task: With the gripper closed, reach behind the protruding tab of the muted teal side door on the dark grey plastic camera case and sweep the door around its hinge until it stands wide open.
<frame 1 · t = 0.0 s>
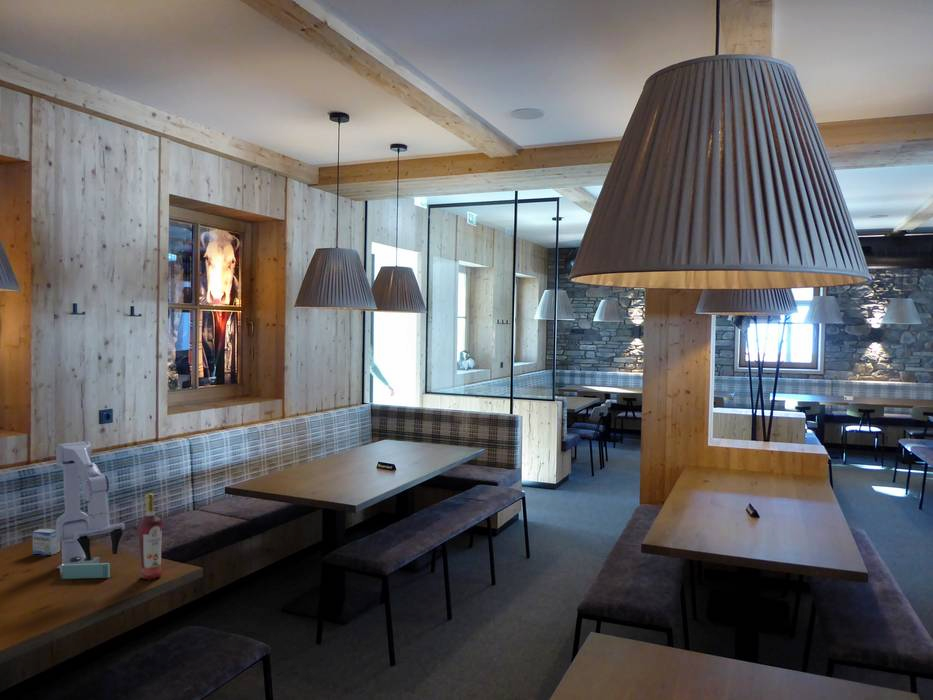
hand: (101, 556, 216), 11 cm above the table, tool pointing down, fingers open, 7 cm apart
camera case: (81, 574, 230), on the table
side door: (84, 571, 226), point 3 cm above the table, hinge at 0.0°
medicine box: (46, 554, 251), on the table
liquor: (151, 578, 227), on the table
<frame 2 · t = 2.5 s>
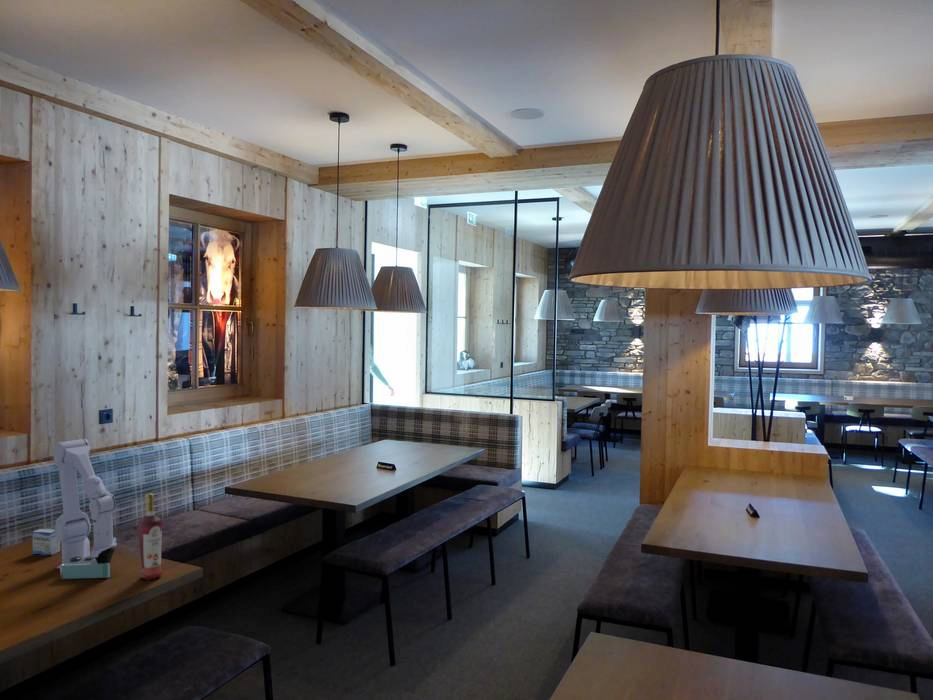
hand: (104, 571, 229), 1 cm above the table, tool pointing down, fingers closed
side door: (84, 571, 226), point 3 cm above the table, hinge at 0.0°, touching gripper
everything else where it was.
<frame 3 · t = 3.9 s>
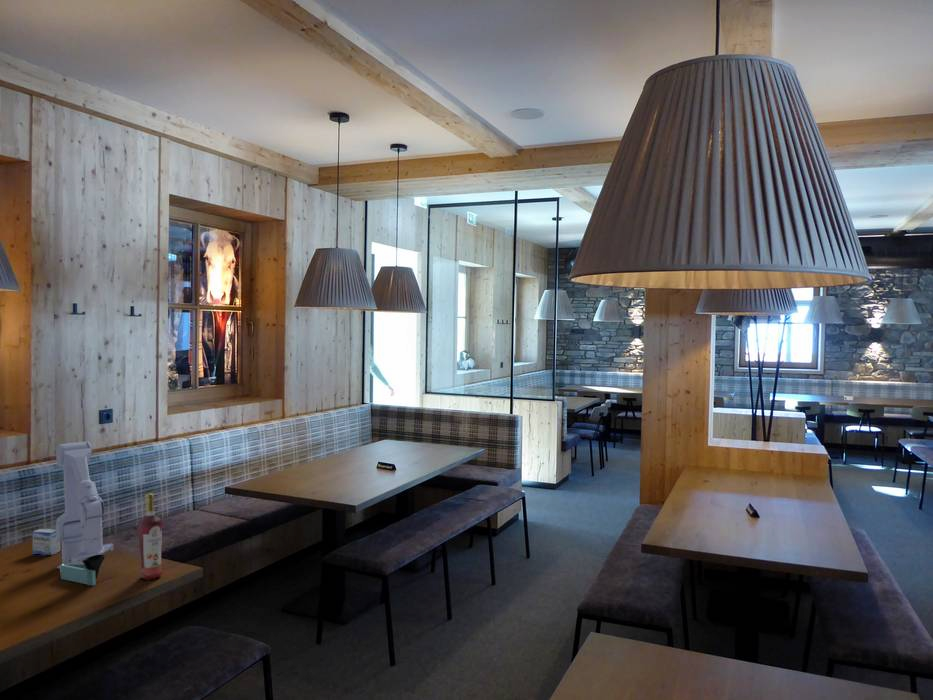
hand: (93, 578, 222), 1 cm above the table, tool pointing down, fingers closed
side door: (76, 575, 222), point 3 cm above the table, hinge at 27.4°, touching gripper
everything else where it was.
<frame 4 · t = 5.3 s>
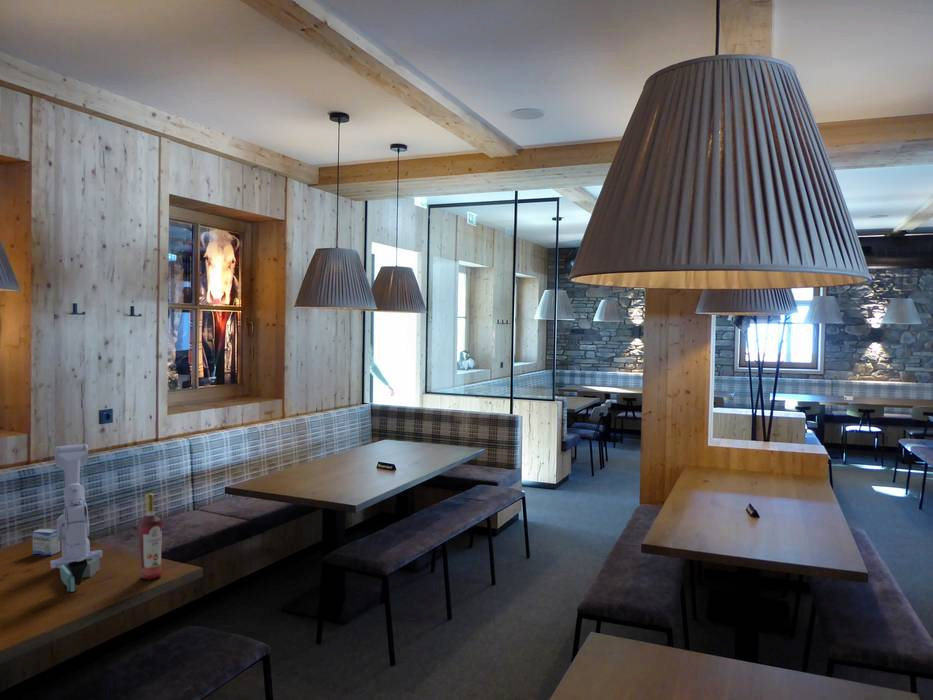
hand: (77, 584, 218), 1 cm above the table, tool pointing down, fingers closed
side door: (65, 578, 220), point 3 cm above the table, hinge at 52.7°, touching gripper
everything else where it was.
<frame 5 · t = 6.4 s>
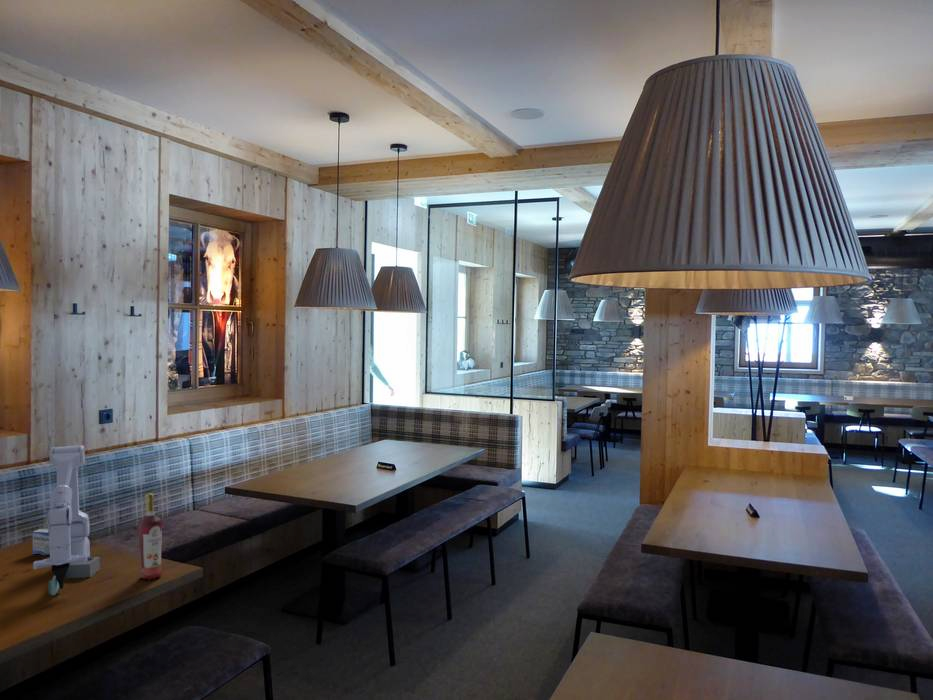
hand: (61, 587, 215), 1 cm above the table, tool pointing down, fingers closed
side door: (56, 579, 219), point 3 cm above the table, hinge at 73.0°, touching gripper
everything else where it was.
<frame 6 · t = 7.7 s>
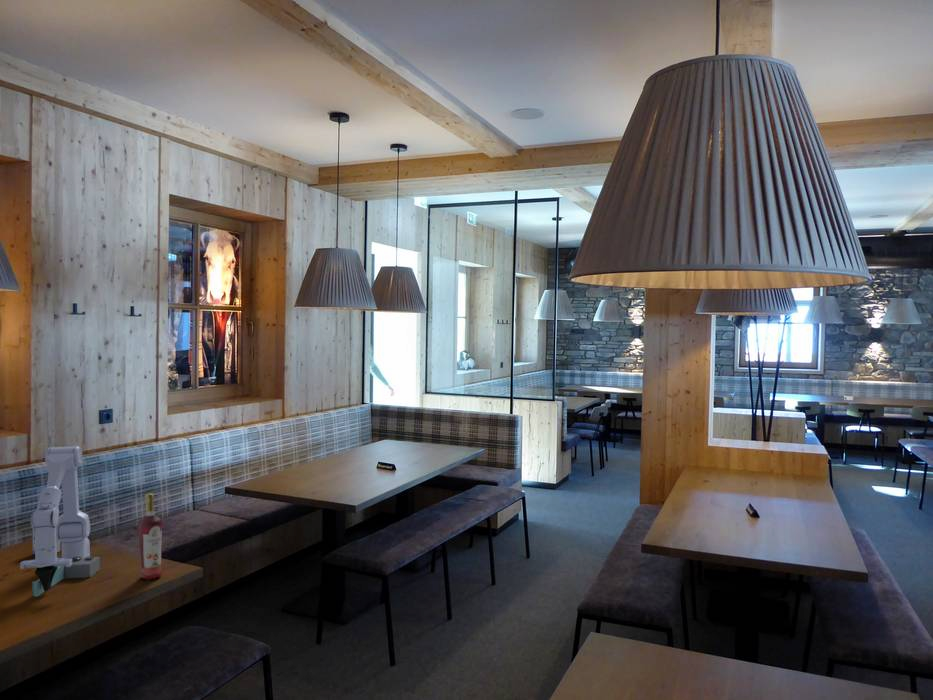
hand: (47, 589, 213), 1 cm above the table, tool pointing down, fingers closed
side door: (48, 579, 218), point 3 cm above the table, hinge at 92.0°, touching gripper
everything else where it was.
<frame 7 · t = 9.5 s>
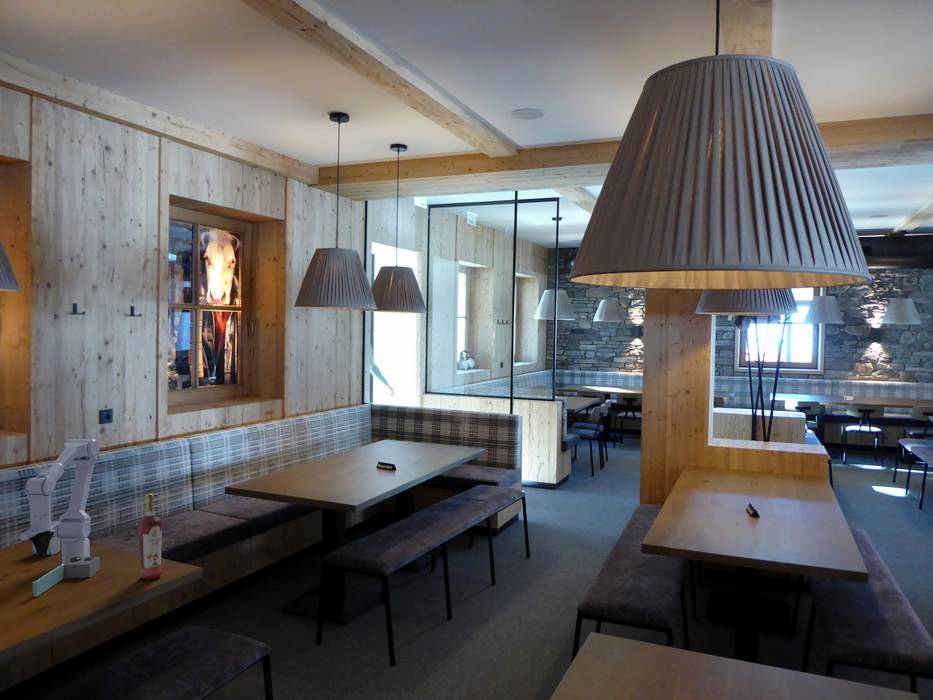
hand: (42, 555, 222), 9 cm above the table, tool pointing down, fingers closed
side door: (48, 579, 218), point 3 cm above the table, hinge at 92.2°
everything else where it was.
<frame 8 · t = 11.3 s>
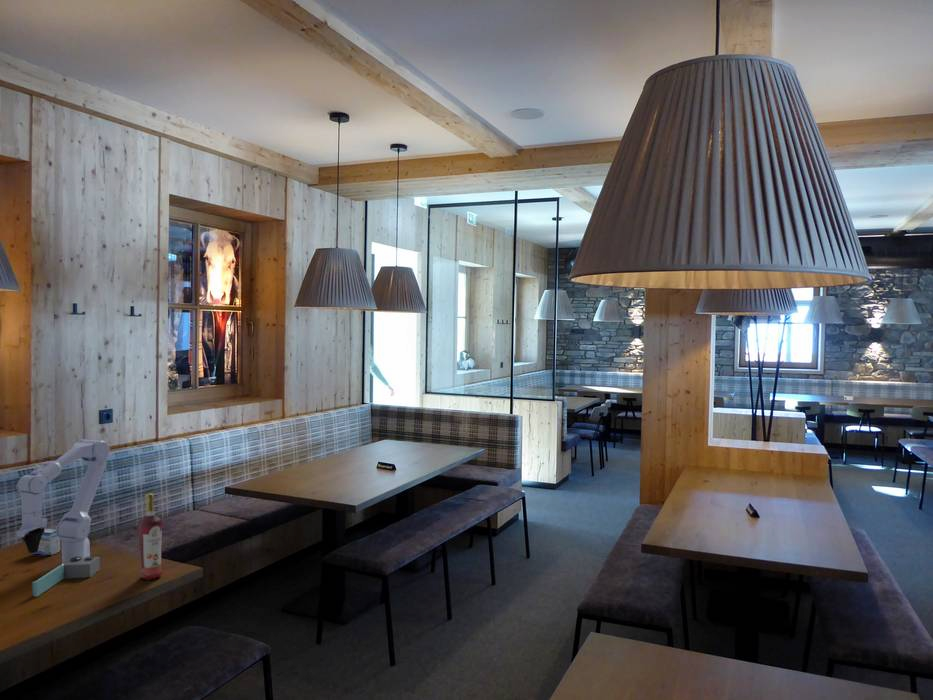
hand: (33, 552, 224), 9 cm above the table, tool pointing down, fingers closed
nothing on the table moved.
at the end: side door at +92° (first picture: +0°) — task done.
